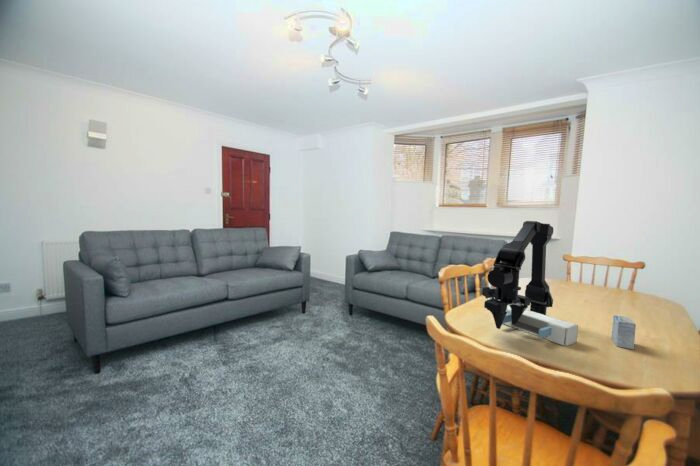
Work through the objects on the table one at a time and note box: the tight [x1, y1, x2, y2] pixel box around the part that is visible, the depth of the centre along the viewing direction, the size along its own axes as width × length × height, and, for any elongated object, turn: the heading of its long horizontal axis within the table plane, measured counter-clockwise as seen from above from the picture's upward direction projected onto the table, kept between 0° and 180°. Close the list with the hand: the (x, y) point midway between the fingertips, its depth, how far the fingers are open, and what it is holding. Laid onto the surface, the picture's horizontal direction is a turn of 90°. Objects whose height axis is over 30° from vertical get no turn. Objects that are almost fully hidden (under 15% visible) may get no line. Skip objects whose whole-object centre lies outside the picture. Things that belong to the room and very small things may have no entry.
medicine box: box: [611, 314, 637, 350], centre depth 102 cm, size 8×4×9 cm, turn 148°
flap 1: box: [502, 310, 512, 327], centre depth 114 cm, size 7×5×6 cm
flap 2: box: [537, 323, 566, 346], centre depth 99 cm, size 7×5×6 cm
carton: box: [507, 305, 579, 347], centre depth 110 cm, size 7×24×6 cm, turn 30°
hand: (506, 326), depth 106 cm, fingers open, 9 cm apart
